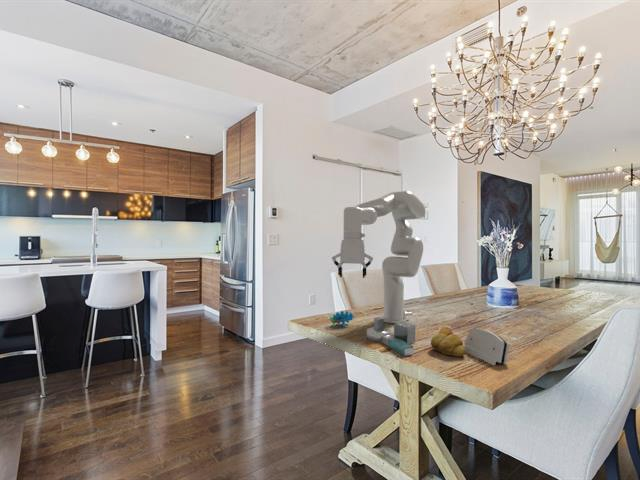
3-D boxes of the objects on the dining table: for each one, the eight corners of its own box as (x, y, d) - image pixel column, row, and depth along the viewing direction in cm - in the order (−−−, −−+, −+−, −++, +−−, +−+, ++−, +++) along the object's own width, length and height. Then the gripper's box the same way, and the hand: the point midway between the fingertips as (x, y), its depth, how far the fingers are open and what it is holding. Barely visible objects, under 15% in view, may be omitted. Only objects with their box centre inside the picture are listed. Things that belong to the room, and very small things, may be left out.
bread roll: (472, 357, 117) (472, 334, 117) (449, 360, 114) (449, 337, 114) (446, 345, 129) (447, 325, 129) (425, 348, 126) (425, 327, 126)
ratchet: (383, 333, 144) (383, 314, 144) (420, 353, 120) (421, 331, 120) (362, 335, 141) (362, 316, 141) (396, 356, 117) (397, 334, 116)
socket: (401, 338, 137) (402, 321, 137) (415, 342, 133) (415, 324, 133) (393, 341, 133) (394, 324, 133) (407, 345, 129) (407, 327, 129)
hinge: (459, 349, 125) (467, 323, 126) (469, 352, 126) (476, 326, 127) (494, 366, 109) (503, 336, 110) (505, 369, 110) (513, 340, 111)
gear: (353, 319, 160) (352, 308, 153) (355, 331, 156) (354, 319, 149) (330, 322, 161) (328, 311, 154) (331, 333, 157) (329, 323, 149)
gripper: (373, 236, 143) (373, 276, 144) (333, 236, 146) (333, 275, 147) (373, 236, 136) (372, 278, 136) (330, 236, 139) (330, 277, 139)
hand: (352, 277), depth 141 cm, fingers open, 9 cm apart
